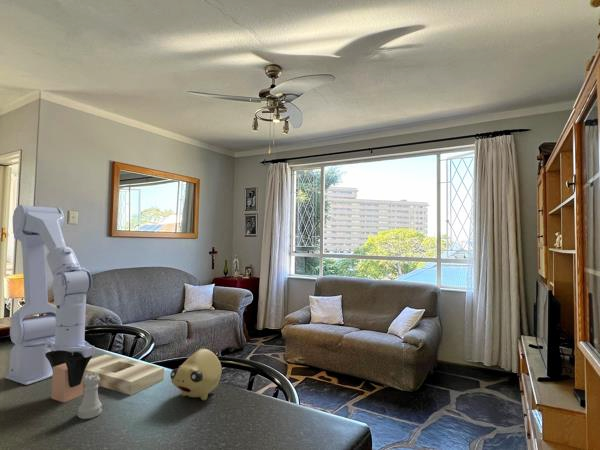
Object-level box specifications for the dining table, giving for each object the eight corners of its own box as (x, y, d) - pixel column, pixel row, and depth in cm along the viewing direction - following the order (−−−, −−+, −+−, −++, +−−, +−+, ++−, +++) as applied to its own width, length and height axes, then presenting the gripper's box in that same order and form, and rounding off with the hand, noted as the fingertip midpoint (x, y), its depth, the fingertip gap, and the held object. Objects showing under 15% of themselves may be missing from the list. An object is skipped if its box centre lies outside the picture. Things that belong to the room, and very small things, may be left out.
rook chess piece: (90, 421, 71) (92, 380, 71) (71, 418, 72) (73, 378, 72) (107, 410, 75) (108, 372, 75) (89, 408, 76) (90, 370, 76)
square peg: (51, 398, 80) (52, 366, 80) (70, 390, 84) (72, 360, 84) (63, 402, 78) (65, 370, 78) (83, 394, 82) (84, 364, 82)
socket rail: (70, 377, 91) (70, 365, 92) (105, 365, 101) (105, 354, 101) (130, 395, 82) (131, 382, 82) (163, 379, 91) (164, 367, 92)
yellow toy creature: (160, 405, 78) (162, 356, 78) (192, 384, 89) (194, 341, 90) (199, 413, 75) (201, 362, 75) (227, 390, 86) (229, 345, 87)
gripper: (32, 323, 81) (29, 383, 80) (73, 331, 75) (70, 397, 74) (64, 317, 87) (61, 373, 87) (104, 324, 81) (101, 384, 81)
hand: (68, 383), depth 81 cm, fingers closed on square peg, 4 cm apart
